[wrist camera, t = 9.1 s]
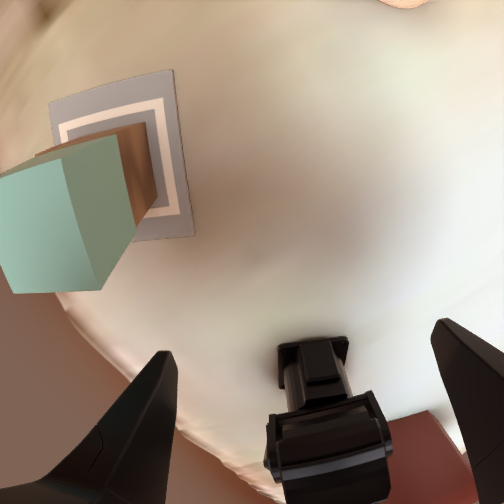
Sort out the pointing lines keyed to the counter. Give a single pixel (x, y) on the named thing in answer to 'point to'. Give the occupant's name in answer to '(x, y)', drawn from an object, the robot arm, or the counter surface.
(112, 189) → the teal block
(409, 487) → the bucket
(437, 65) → the counter surface
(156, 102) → the mat
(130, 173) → the walnut block
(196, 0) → the counter surface
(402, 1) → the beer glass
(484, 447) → the robot arm
